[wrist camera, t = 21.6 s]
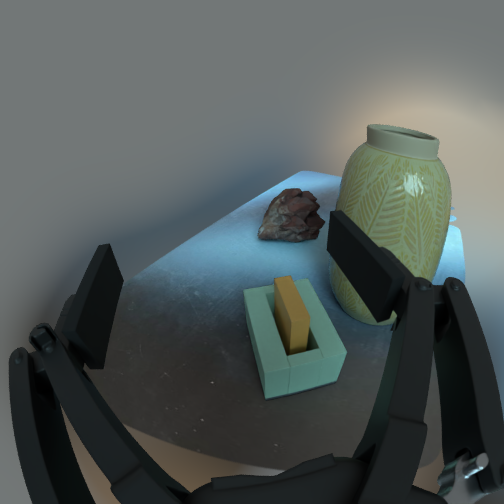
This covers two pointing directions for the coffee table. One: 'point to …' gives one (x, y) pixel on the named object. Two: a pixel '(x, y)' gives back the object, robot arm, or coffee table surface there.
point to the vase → (394, 206)
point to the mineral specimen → (292, 217)
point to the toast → (290, 316)
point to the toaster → (272, 351)
